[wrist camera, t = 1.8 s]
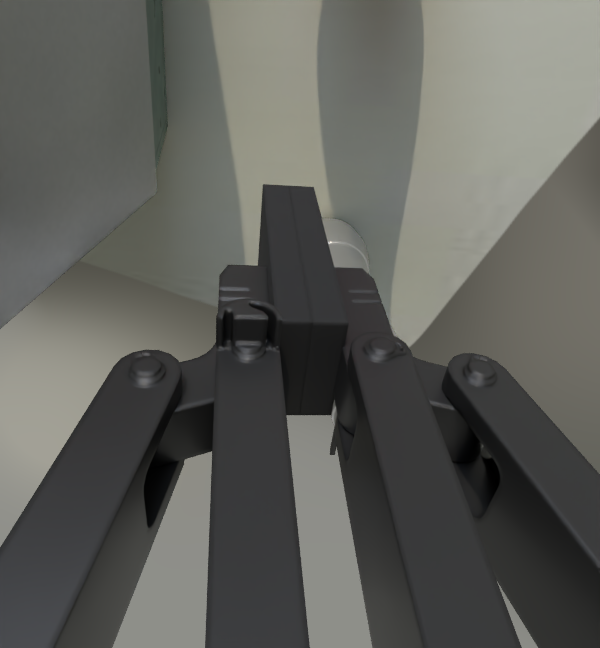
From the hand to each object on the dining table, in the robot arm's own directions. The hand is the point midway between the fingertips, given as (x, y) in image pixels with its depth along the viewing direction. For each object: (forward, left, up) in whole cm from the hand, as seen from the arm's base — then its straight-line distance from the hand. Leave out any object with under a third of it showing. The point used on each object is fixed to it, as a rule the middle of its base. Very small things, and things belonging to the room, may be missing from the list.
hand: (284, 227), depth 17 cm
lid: (-8, -4, -7) cm, 11 cm away
